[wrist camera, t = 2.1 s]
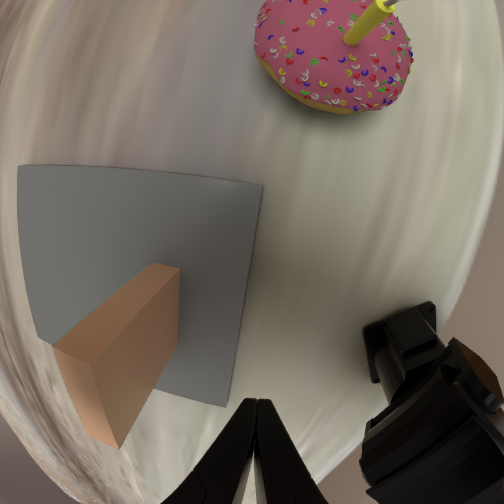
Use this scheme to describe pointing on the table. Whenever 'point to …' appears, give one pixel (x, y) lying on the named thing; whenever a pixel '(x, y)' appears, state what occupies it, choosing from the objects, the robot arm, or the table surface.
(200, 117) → the table surface
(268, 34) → the cupcake
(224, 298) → the board
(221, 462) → the robot arm
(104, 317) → the tile
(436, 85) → the table surface
